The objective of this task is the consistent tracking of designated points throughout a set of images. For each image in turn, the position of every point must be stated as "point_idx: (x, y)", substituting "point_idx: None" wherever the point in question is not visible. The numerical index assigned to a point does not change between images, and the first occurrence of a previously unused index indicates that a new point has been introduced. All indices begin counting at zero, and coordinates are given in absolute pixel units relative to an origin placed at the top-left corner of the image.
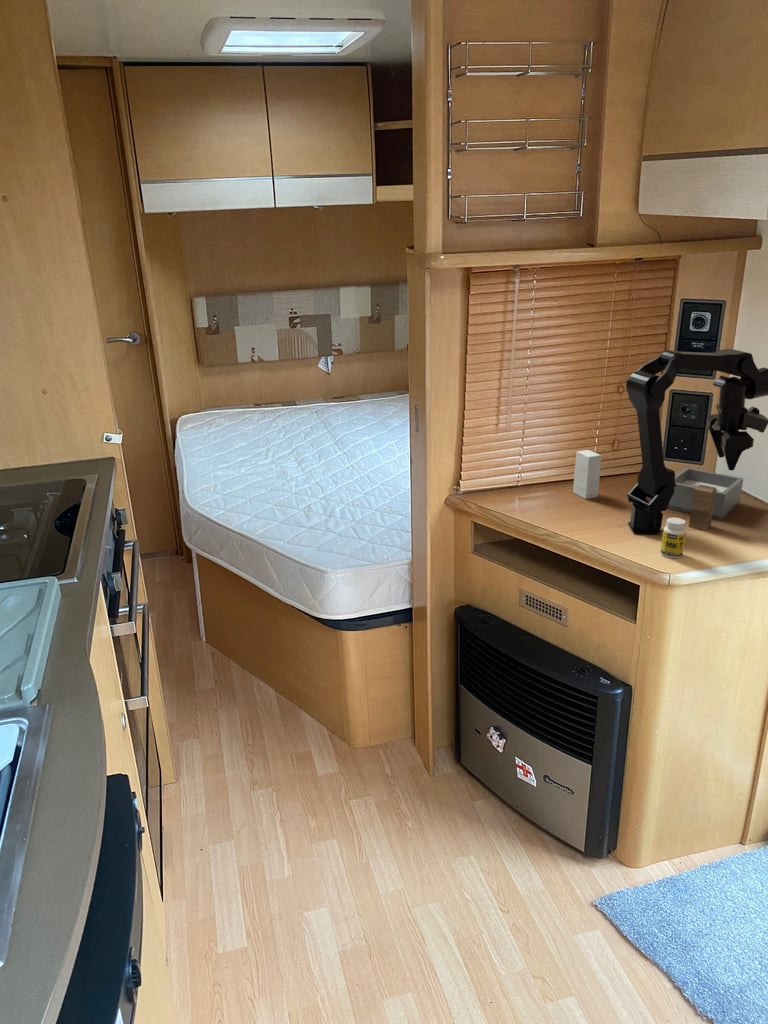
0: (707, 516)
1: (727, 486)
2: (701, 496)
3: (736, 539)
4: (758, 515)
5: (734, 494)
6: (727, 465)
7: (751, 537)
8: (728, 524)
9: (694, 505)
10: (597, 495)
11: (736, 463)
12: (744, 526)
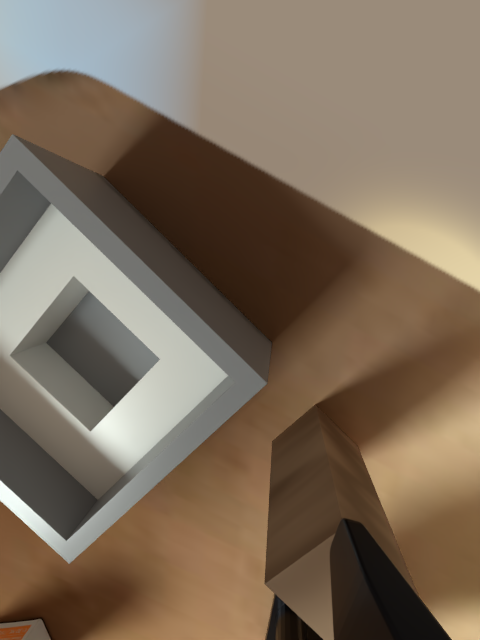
0: (371, 482)
1: (34, 220)
2: None
3: (461, 380)
4: (238, 161)
5: (147, 244)
6: (336, 627)
7: (456, 313)
8: (314, 334)
9: None
10: (38, 625)
11: (439, 625)
12: (343, 283)
